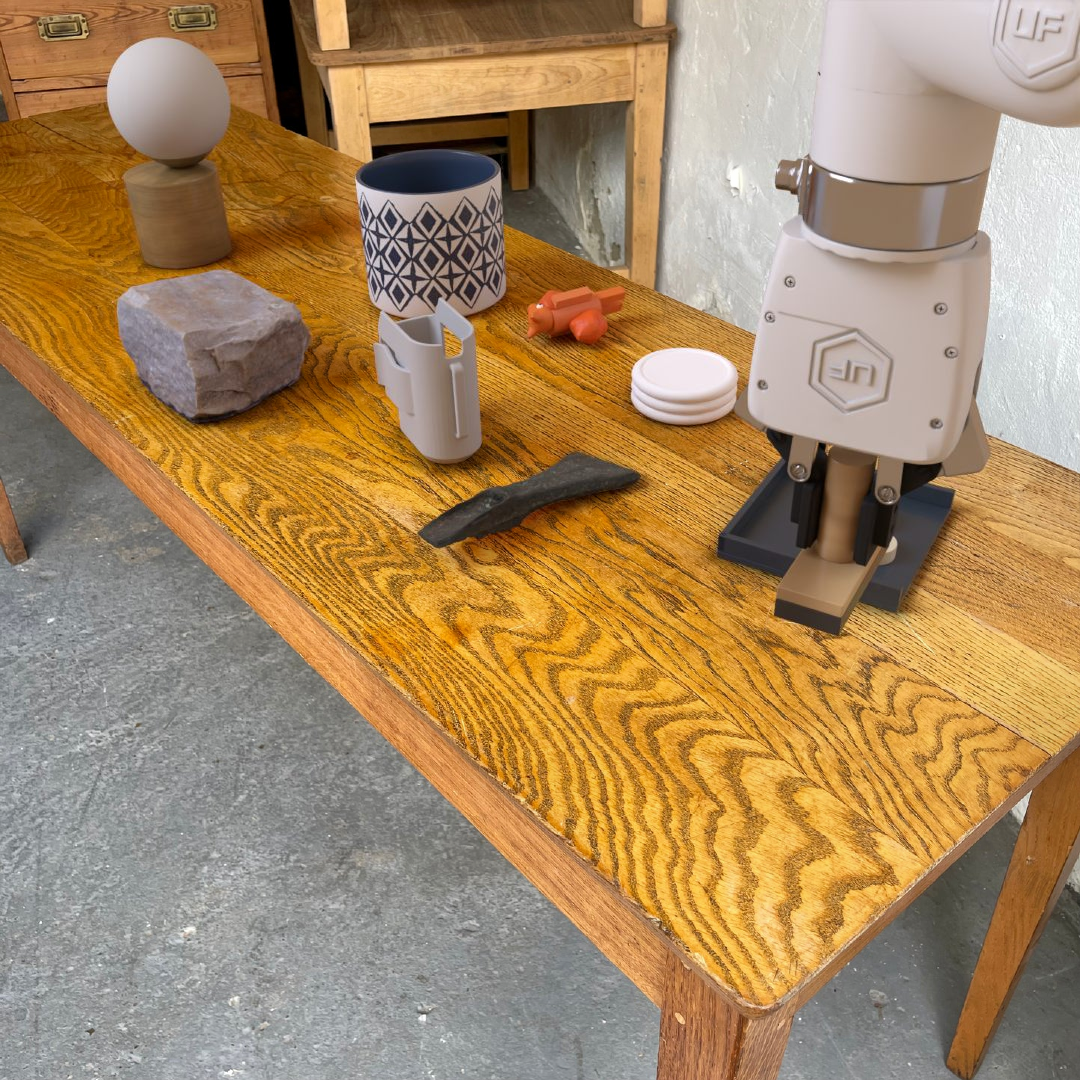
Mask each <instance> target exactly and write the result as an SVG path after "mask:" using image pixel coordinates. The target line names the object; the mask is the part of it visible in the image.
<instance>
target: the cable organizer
mask: <svg viewBox="0 0 1080 1080" xmlns="http://www.w3.org/2000/svg"><path fill="white" fill-rule="evenodd" d="M378 318H379V319H378V324H377V332H378V339H379V342H374V343H373V345H372V346H373V351H374V353H373V354H374V360H375V362H374V363H375V369H376V376H377V384H378V385H380V386H384V388H385V390H384V391H385V395H386V396H387V398H388V399H389V400H390V401H391V402H392V403H393V404H394V406H395V407H396V408H397V409H398V418H399V427H400V430H401V432H402V433H403V434H404V435H405V436H406V437H407V439H408V440H409V441H410V442H411V443H412V445H413V446H414V447H415V449H417V450H418V452H420V453H421V455H422V456H423V457H424V458H426V459H427V460H428V461H430V462H433V463H437V464H443V465H449V464H457V463H460V462H464V461H465V460H468V459H469V458H470V457H472V456H473V455H474V454H475V453H476V452H477V451H478V450H479V449H480V448H481V445H482V442H483V439H482V438H483V437H482V421H481V407H480V392H479V375H478V364H477V363H478V362H477V349H476V348H477V346H476V334H475V333H476V332H475V327H474V325H473V324H472V322H470V321H469V320H468V319H467V318H466V317H463V316H462V315H461V314H460V313H459V312H457V311H456V310H455V309H454V308H453V307H452V306H451V305H449V304H448V303H447V302H446V301H445V300H444V299H443V298H439V300H438V304H437V308H436V312H435V314H433V315H423V316H419V317H414V318H410V319H406V318H405V319H402V320H398V321H397V320H396V321H395V320H393V319H392V317H390V316H389V315H388V313H386V312H384V311H382V310H381V311H380V313H379V317H378ZM445 328H446V329H447V330H448V331H449V332H451V333H452V335H454V336H455V337H456V338H457V339H458V340H459V341H461V351H460V353H459V354H457V355H454V356H448V357H447V352H446V351H447V350H446V339H445V338H446V337H445Z"/></svg>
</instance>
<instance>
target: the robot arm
mask: <svg viewBox="0 0 1080 1080" xmlns="http://www.w3.org/2000/svg"><path fill="white" fill-rule="evenodd" d="M822 19H823V20H822V29H821V37H820V46H819V56H818V64H817V67H818V68H817V75H816V84H815V93H814V94H815V95H814V102H813V111H812V112H813V113H812V121H811V131H810V139H809V140H810V141H809V148H808V149H809V150H808V153H807V154H806V155H805V156H804V157H803V158H802V157H801V158H800V157H799V158H797V159H796V160H790V159H783V158H782V159H781V160H780V161H779V163H778V165H777V167H776V171H775V176H774V186H775V189H776V190H781V191H788V192H790V194H791V195H793V196H797V203H798V208H797V209H798V210H797V214H796V215H795V216H794V217H792V218H790V219H788V220H787V221H786V222H785V223H784V224H783V225H782V228H781V231H780V233H779V237H778V239H777V243H776V246H775V249H774V252H773V256H772V261H771V265H770V268H769V272H768V275H767V280H766V283H765V289H764V293H763V298H762V301H761V302H762V303H761V308H760V312H759V317H758V323H757V328H756V334H755V339H754V345H753V350H752V355H751V356H752V357H751V363H750V370H749V378H748V383H747V384H746V386H745V387H744V389H743V390H742V392H741V393H740V395H739V396H738V397H737V398H736V402H735V404H734V407H733V412H734V414H735V415H736V416H738V418H740V419H741V420H743V421H744V422H745V423H747V424H749V426H751V427H752V428H754V429H755V430H757V431H759V432H760V433H762V432H763V433H764V434H765V435H766V438H767V440H768V441H769V443H770V444H771V445H772V446H773V447H774V449H775V450H776V451H777V453H778V455H780V457H781V458H783V459H784V460H785V461H786V463H787V464H788V468H787V470H788V474H789V476H790V477H791V478H792V479H793V480H795V483H794V492H793V500H792V508H791V516H790V521H791V522H793V523H796V524H798V531H797V539H796V547H799V548H802V549H807V547H808V548H811V546H812V545H813V543H814V542H815V540H816V539H817V532H818V524H819V517H820V510H821V503H822V495H823V488H824V481H825V474H826V466H827V459H828V452H829V446H837V447H841V448H845V449H849V450H853V451H857V452H862V453H866V454H870V455H874V456H877V465H876V470H877V475H876V480H875V481H874V483H873V484H872V487H871V490H870V491H869V492H868V493H867V495H866V496H865V498H864V500H863V502H862V505H861V511H860V517H859V523H858V529H857V535H856V541H855V548H854V554H853V560H854V561H856V564H858V565H862V566H865V567H866V566H867V564H868V562H869V560H870V559H871V557H872V555H873V554H874V552H875V550H876V548H877V547H878V546H879V547H883V548H887V547H888V546H889V544H890V542H891V540H892V538H893V535H894V531H895V526H896V521H897V516H898V510H899V505H900V500H901V496H903V495H905V494H907V493H909V492H911V491H913V490H915V489H917V488H919V487H921V486H923V485H924V484H926V483H930V482H932V481H934V480H935V479H937V478H940V477H945V478H949V477H950V478H951V477H956V476H957V477H958V476H964V475H972V474H978V473H980V472H982V471H983V470H984V469H985V467H986V465H987V463H988V460H989V459H990V457H991V448H990V445H989V442H988V438H987V435H986V431H985V428H984V424H983V420H982V417H981V414H980V411H979V410H980V409H979V407H978V404H977V397H978V392H979V386H980V381H981V375H982V369H983V368H982V367H983V363H984V362H983V361H984V357H985V356H984V355H985V349H986V348H985V347H986V340H987V332H988V322H989V313H990V305H991V290H992V289H991V286H992V241H991V237H990V236H989V234H987V233H986V232H985V231H983V230H981V229H979V227H980V222H981V216H982V212H983V206H984V203H985V196H986V193H987V192H986V191H987V186H988V182H989V177H990V172H991V166H992V163H993V158H994V153H995V147H996V143H997V138H998V133H999V127H1000V124H1001V123H1000V122H1001V117H1002V114H1003V115H1005V116H1008V117H1009V118H1010V117H1011V118H1014V119H1015V120H1018V121H1021V122H1026V123H1030V124H1033V125H1037V126H1043V127H1049V128H1056V129H1057V128H1060V129H1061V128H1062V129H1064V128H1065V129H1072V128H1073V129H1075V128H1080V0H825V1H824V10H823V18H822Z"/></svg>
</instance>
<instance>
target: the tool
mask: <svg viewBox="0 0 1080 1080" xmlns="http://www.w3.org/2000/svg"><path fill="white" fill-rule="evenodd" d="M641 478H642V475H641V473H639V472H637V471H635V470H633V469H631V468H628V467H624V466H622V465H619V464H616V463H614V462H610V461H607V460H604V459H601V458H598V457H593V456H591V455H589V454H585V453H582V452H578V451H573V452H570V453H569V454H567V455H565V456H564V457H563V458H561V459H560V460H559V461H557V462H556V463H555V464H552V465H551V466H550V467H549V468H547V469H544V470H542V471H540V472H538V473H536V474H533V475H532V476H531V477H529V478H526V479H524V480H519V481H515V482H512V483H510V484H507V485H497V486H491V487H488V488H486V489H483V490H481V491H479V492H477V493H476V494H475V495H473V496H472V497H470V498H468V499H466V500H465V501H462V502H459V503H456V504H455V505H453V506H452V507H450V508H449V509H447V510H445V511H444V512H443V513H440V514H439V515H438V516H437V517H436V518H433V519H431V520H430V521H429V522H428V523H427V524H425V525H424V526H423V527H422V528H421V529H419V530H418V531H417V532H416V534H417V535H418V536H419V537H420V538H421V539H422V541H424V542H426V543H427V544H429V545H431V546H432V547H433V548H435V549H443V548H445V547H447V546H452V545H454V544H456V543H460V542H464V541H465V540H467V538H470V539H471V538H475V539H476V540H482V539H483V540H484V538H485V537H487V536H489V535H491V536H492V535H493V536H495V535H496V534H497V533H502V532H507V531H510V530H512V529H514V528H516V527H518V526H520V525H521V524H522V523H523V521H524V520H525V519H527V517H530V516H531V514H533V513H535V512H537V511H540V510H541V509H543V508H546V507H547V506H549V505H552V504H556V503H559V502H563V501H564V502H565V501H569V500H574V499H578V498H582V497H587V496H590V495H595V494H598V493H602V492H605V491H611V490H613V491H614V490H621V489H626V488H628V487H631V486H634V485H636V484H638V482H639V480H640V479H641Z"/></svg>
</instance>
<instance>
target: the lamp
mask: <svg viewBox="0 0 1080 1080" xmlns="http://www.w3.org/2000/svg"><path fill="white" fill-rule="evenodd" d="M106 100H107V101H106V102H107V107H108V111H109V114H110V117H111V119H112V122H113V124H114V126H115V128H116V129H117V131H118V133H119V134H120V135H121V137H122V138H123V140H125V141H126V142H127V144H129V146H131V148H133V149H134V150H135V151H137V152H138V153H140V154H142V155H144V156H146V157H147V158H149V159H150V160H152V161H147V162H144V163H141V164H137V165H135V166H133V167H131V168H129V169H127V170H126V171H125V172H124V173H123V176H122V178H123V183H124V187H125V190H126V196H127V199H128V204H129V208H130V212H131V216H132V220H133V224H134V228H135V232H136V237H137V240H138V245H139V249H140V253H141V252H142V253H141V256H142V257H141V258H142V259H143V261H144V263H145V264H147V265H148V266H151V267H154V268H159V269H168V270H169V269H171V270H172V269H173V270H174V269H177V270H178V269H180V270H181V269H189V268H196V267H201V266H205V265H206V266H207V265H209V264H212V263H215V262H218V261H220V260H222V259H224V258H225V257H227V256H228V255H229V254H230V253H231V252H232V250H233V241H232V237H231V232H230V226H229V222H228V216H227V212H226V211H227V210H226V206H225V201H224V195H223V190H222V186H221V180H220V175H219V170H218V166H217V164H216V163H215V162H214V161H212V160H209V159H207V158H208V156H209V155H210V154H211V153H212V152H213V151H214V149H215V148H216V147H217V146H218V145H219V144H220V142H221V141H222V139H223V138H224V136H225V134H226V133H227V130H228V127H229V123H230V118H231V97H230V92H229V88H228V86H227V83H226V81H225V78H224V76H223V74H222V72H221V71H220V70H219V68H218V66H217V65H216V64H215V63H214V61H212V59H211V58H210V57H209V56H207V54H205V53H204V52H203V51H202V50H200V48H198V47H196V46H194V45H192V44H190V43H188V42H186V41H184V40H180V39H176V38H172V37H164V36H163V37H162V36H159V37H151V38H147V39H144V40H141V41H138V42H136V43H134V44H132V45H131V46H129V47H128V48H126V50H124V51H123V52H122V53H121V54H120V56H119V57H118V58H117V59H116V61H115V62H114V64H113V66H112V68H111V70H110V73H109V76H108V80H107V86H106Z"/></svg>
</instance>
